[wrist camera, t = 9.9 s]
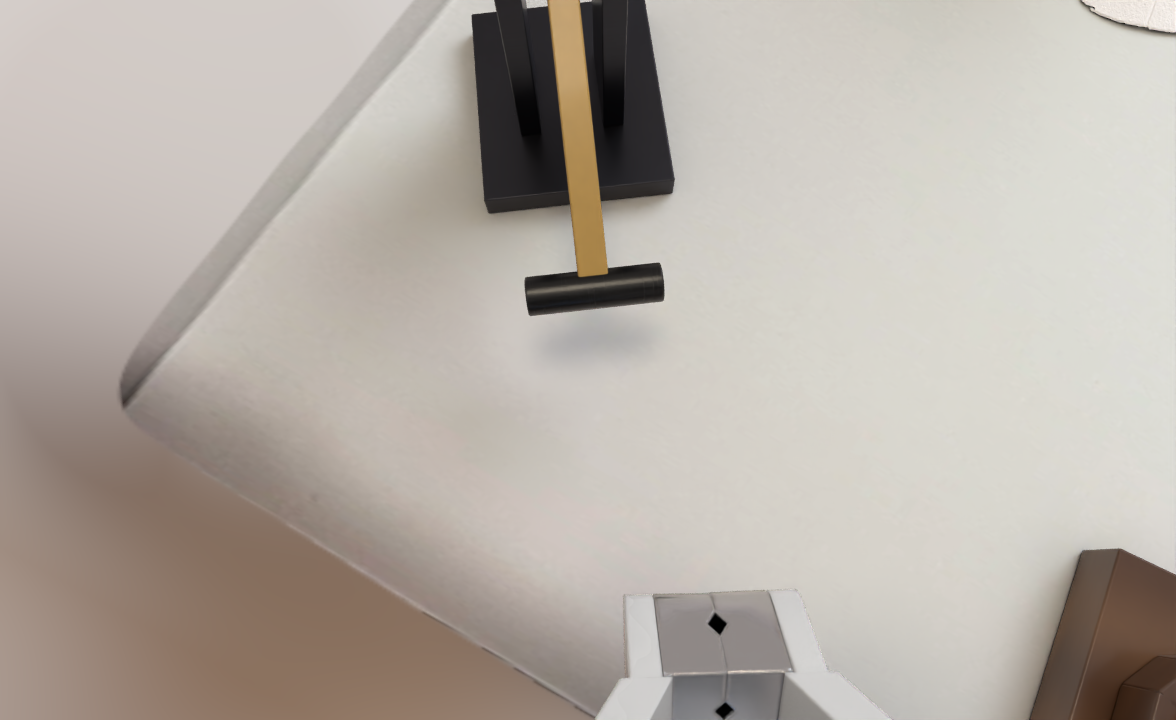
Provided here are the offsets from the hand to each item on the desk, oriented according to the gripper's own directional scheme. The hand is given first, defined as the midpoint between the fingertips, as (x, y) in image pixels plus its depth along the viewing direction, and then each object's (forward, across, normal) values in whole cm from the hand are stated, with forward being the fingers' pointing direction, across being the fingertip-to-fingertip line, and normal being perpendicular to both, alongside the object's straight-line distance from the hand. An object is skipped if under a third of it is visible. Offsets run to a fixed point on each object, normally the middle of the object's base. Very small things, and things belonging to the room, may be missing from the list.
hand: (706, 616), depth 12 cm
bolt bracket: (+29, -3, +4) cm, 29 cm away
